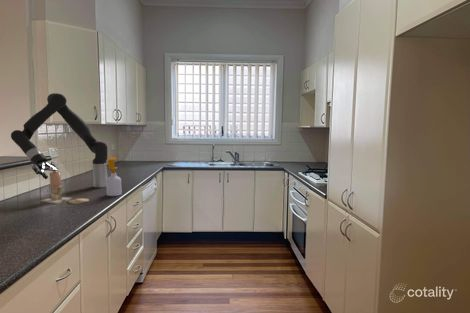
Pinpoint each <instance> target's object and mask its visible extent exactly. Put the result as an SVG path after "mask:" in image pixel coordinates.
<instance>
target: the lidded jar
mask: <svg viewBox="0 0 470 313" xmlns="http://www.w3.org/2000/svg"><path fill="white" fill-rule="evenodd" d="M49 183H50V184H49V189H50V190H51V189H57V188H63V185H62V173H61V172H60V171H58V170H57V171H53V172H52V171H50V172H49Z"/></svg>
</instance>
